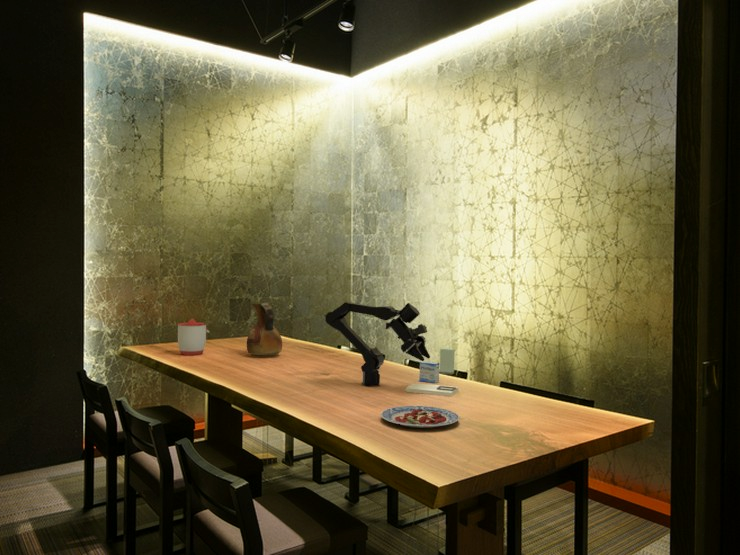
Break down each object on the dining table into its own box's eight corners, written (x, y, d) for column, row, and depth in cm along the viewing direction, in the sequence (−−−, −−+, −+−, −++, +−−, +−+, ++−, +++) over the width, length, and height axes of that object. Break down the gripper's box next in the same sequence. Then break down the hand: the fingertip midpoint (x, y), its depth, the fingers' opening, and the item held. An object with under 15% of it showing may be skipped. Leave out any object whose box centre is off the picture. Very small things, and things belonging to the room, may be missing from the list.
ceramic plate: (411, 408, 209) (411, 400, 209) (473, 421, 193) (473, 412, 192) (364, 421, 190) (364, 412, 190) (429, 437, 173) (429, 427, 173)
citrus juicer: (212, 355, 321) (213, 319, 320) (180, 356, 312) (180, 320, 312) (205, 351, 334) (205, 316, 334) (174, 352, 326) (174, 317, 325)
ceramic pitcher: (270, 352, 336) (271, 300, 335) (289, 356, 320) (290, 302, 320) (240, 354, 323) (240, 301, 323) (257, 359, 308) (258, 303, 307)
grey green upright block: (439, 373, 234) (440, 348, 234) (442, 371, 238) (442, 347, 238) (451, 374, 233) (452, 349, 232) (454, 373, 236) (454, 348, 236)
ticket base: (405, 391, 236) (405, 386, 236) (414, 386, 247) (414, 381, 247) (451, 396, 228) (451, 391, 228) (458, 390, 240) (458, 385, 240)
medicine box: (418, 381, 258) (419, 362, 258) (422, 379, 262) (423, 360, 262) (435, 383, 254) (435, 363, 254) (439, 381, 258) (439, 362, 258)
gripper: (409, 319, 232) (435, 348, 228) (421, 316, 249) (445, 344, 245) (390, 337, 234) (415, 366, 230) (403, 333, 252) (426, 361, 248)
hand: (426, 359), depth 238 cm, fingers open, 9 cm apart
